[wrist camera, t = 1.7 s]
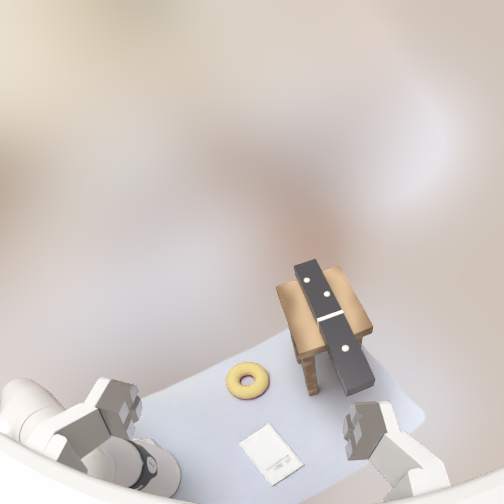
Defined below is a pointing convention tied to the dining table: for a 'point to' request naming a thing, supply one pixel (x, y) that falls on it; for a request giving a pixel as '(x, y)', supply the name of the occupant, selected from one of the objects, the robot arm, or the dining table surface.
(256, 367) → the donut
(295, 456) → the external hard drive
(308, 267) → the domino
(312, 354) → the stool
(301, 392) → the dining table surface
